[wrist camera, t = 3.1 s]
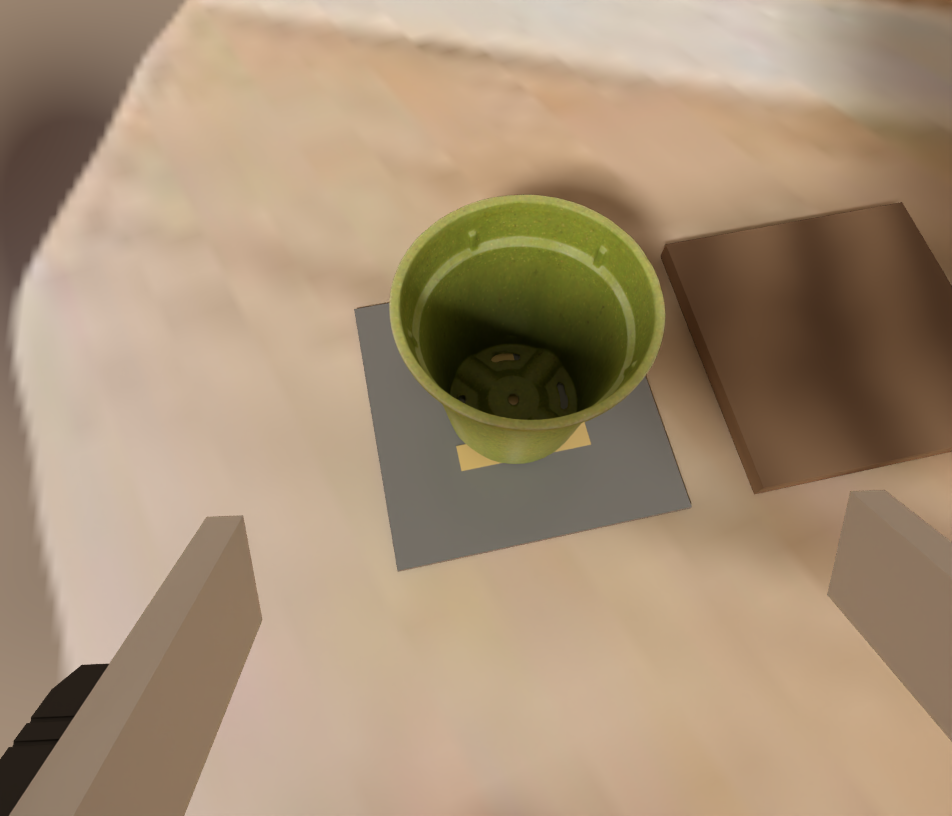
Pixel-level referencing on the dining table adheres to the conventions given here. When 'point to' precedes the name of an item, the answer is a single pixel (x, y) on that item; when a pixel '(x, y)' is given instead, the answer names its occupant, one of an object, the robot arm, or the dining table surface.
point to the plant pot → (526, 320)
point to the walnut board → (822, 342)
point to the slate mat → (505, 467)
